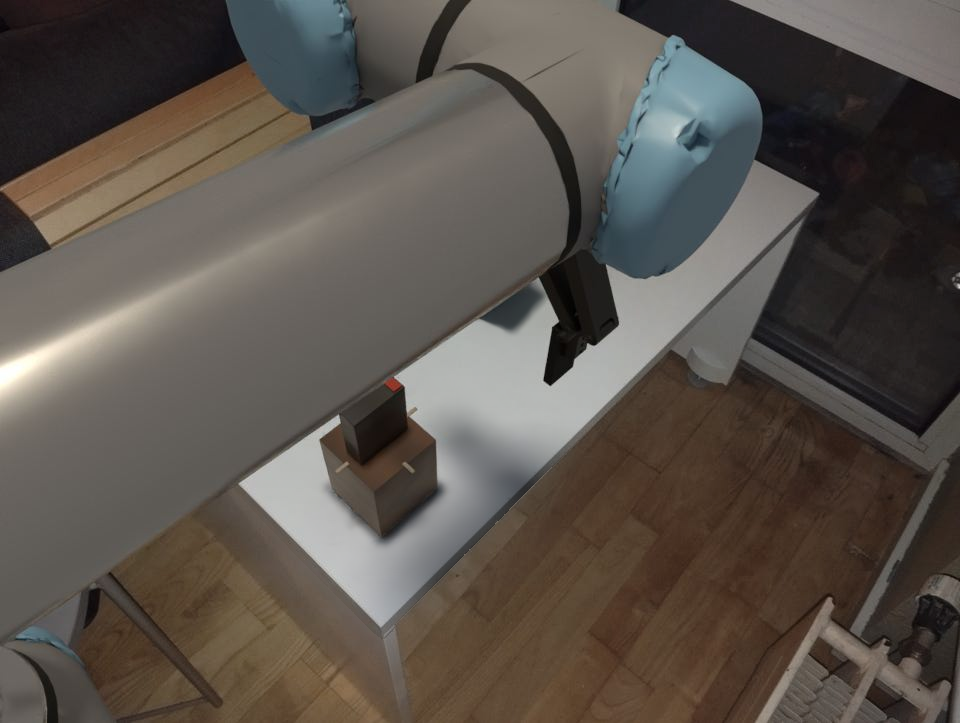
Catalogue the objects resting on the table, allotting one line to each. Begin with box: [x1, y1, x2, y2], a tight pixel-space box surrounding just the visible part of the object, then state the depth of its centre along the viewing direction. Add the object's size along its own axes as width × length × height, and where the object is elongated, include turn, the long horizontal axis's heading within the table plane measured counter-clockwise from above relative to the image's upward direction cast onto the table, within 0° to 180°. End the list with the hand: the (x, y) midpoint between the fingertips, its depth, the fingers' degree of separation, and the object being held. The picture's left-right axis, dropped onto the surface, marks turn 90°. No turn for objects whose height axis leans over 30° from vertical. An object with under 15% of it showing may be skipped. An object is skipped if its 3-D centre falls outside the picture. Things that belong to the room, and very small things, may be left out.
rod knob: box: [338, 376, 408, 465], centre depth 71 cm, size 6×2×7 cm, turn 136°
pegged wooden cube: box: [318, 406, 438, 538], centre depth 78 cm, size 10×10×10 cm
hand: (495, 326), depth 63 cm, fingers open, 13 cm apart
